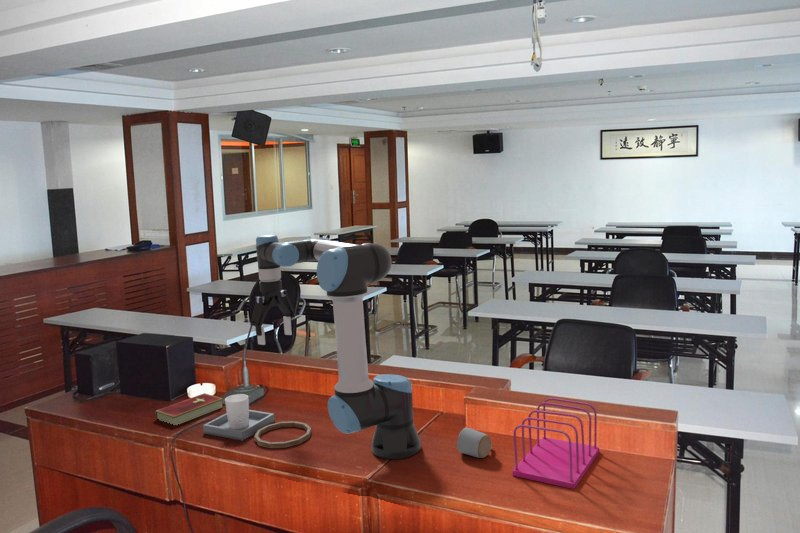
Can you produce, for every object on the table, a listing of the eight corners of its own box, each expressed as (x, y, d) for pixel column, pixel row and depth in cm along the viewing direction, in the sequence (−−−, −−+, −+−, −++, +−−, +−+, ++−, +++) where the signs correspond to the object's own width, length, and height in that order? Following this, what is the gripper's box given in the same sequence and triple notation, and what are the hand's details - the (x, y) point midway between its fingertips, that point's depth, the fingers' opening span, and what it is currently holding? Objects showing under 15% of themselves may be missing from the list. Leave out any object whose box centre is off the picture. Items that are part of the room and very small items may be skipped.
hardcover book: (156, 420, 240) (154, 409, 239) (204, 402, 256) (203, 392, 256) (175, 427, 233) (173, 416, 232) (224, 408, 249) (222, 397, 248)
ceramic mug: (480, 463, 192) (479, 437, 191) (456, 456, 197) (456, 431, 196) (498, 450, 200) (498, 426, 199) (476, 444, 205) (475, 420, 204)
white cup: (226, 423, 230) (224, 396, 229) (249, 419, 233) (247, 392, 231) (227, 431, 223) (225, 403, 221) (251, 427, 225) (249, 400, 224)
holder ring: (305, 446, 209) (305, 442, 209) (249, 449, 210) (249, 444, 210) (314, 424, 227) (314, 420, 227) (262, 426, 228) (262, 422, 228)
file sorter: (512, 476, 183) (510, 422, 180) (543, 442, 204) (542, 393, 201) (574, 490, 174) (573, 433, 171) (599, 452, 195) (599, 401, 192)
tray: (274, 421, 232) (274, 413, 231) (242, 440, 217) (241, 432, 216) (237, 415, 239) (237, 407, 239) (203, 433, 225) (203, 425, 224)
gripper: (286, 273, 240) (290, 329, 243) (236, 285, 219) (241, 347, 223) (302, 274, 236) (306, 331, 240) (252, 287, 215) (258, 349, 219)
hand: (275, 339), depth 231 cm, fingers open, 13 cm apart
